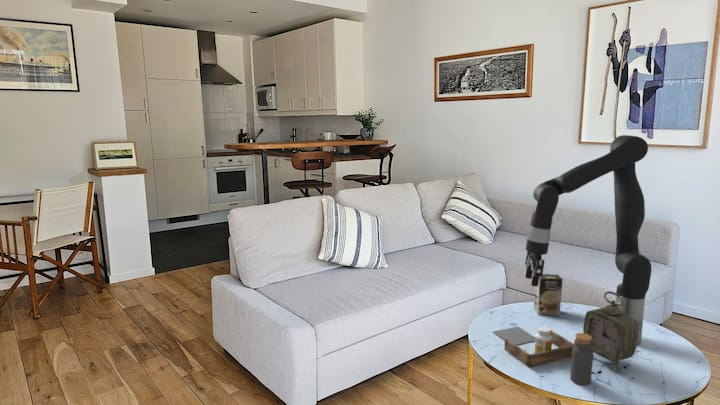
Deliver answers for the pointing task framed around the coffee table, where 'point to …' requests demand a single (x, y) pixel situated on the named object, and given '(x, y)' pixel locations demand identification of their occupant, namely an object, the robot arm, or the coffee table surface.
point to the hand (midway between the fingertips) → (531, 281)
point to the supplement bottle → (543, 340)
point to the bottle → (582, 359)
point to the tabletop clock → (611, 332)
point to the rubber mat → (515, 335)
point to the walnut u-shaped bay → (545, 356)
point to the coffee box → (548, 295)
